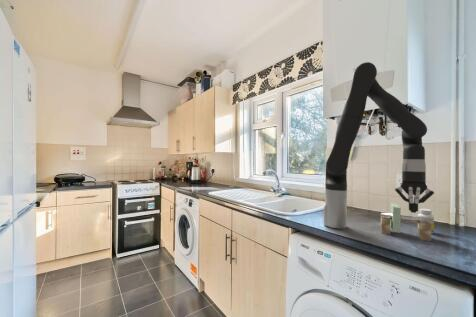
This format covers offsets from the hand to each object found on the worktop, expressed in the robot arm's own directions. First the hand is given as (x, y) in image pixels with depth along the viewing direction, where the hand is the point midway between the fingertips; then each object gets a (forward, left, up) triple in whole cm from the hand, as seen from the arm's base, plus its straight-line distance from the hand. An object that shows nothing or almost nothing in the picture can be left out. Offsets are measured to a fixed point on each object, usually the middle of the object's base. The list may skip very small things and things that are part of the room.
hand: (413, 212), depth 88 cm
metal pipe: (-3, 0, -4) cm, 5 cm away
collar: (-6, 0, -8) cm, 10 cm away
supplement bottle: (+6, +11, -10) cm, 16 cm away
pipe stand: (-3, 0, -10) cm, 10 cm away
